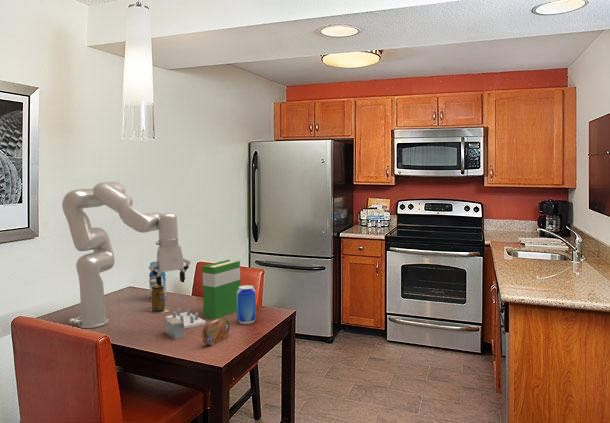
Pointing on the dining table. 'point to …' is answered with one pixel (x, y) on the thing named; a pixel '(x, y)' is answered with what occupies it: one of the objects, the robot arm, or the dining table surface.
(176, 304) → the dining table surface
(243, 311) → the beer can
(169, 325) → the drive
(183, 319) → the white peg board
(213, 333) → the tin
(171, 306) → the dining table surface
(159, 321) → the dining table surface
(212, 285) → the hardback book
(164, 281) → the beverage bottle
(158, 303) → the condiment
